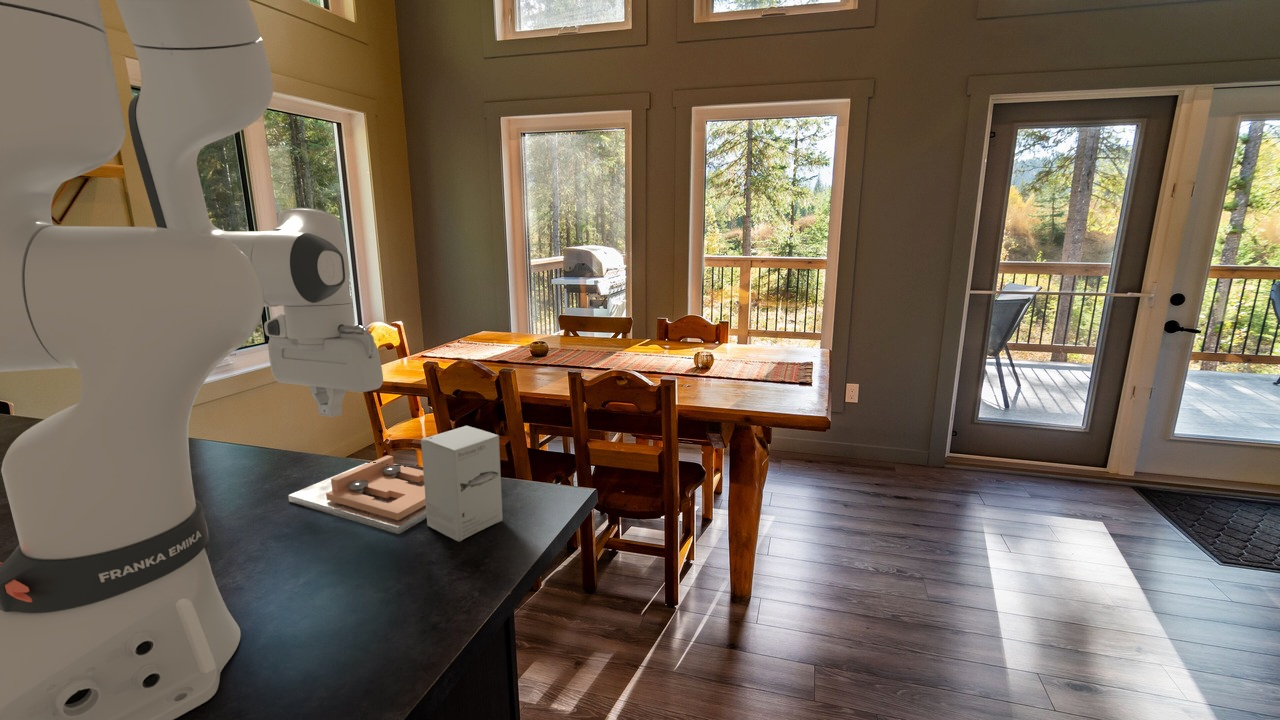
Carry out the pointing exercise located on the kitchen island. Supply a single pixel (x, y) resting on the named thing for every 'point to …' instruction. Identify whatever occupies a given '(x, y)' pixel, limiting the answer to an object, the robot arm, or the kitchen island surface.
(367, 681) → the kitchen island surface
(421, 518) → the boss plate
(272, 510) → the kitchen island surface
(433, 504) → the supplement box
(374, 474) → the panel
